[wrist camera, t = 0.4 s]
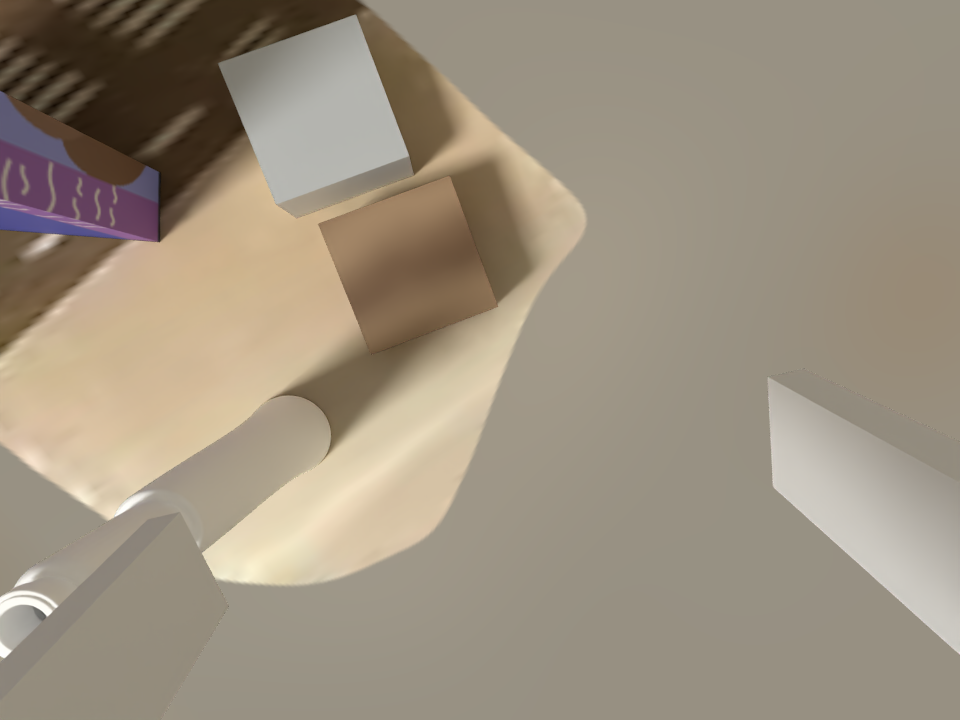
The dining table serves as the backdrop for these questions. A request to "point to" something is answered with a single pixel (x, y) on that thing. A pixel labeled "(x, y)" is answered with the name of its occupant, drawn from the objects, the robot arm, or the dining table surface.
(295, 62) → the grey stand
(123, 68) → the dining table surface
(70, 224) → the cereal box
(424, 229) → the walnut stand
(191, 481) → the cosmetic bottle
